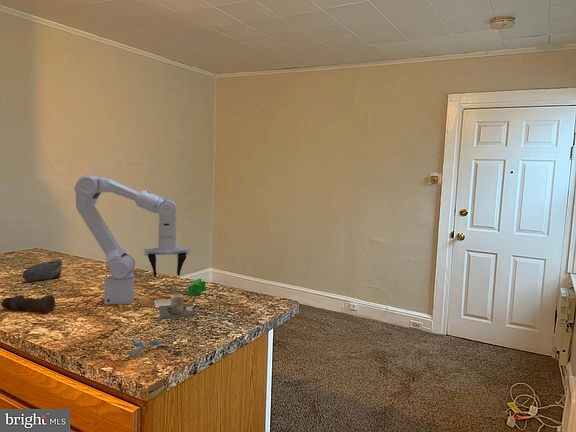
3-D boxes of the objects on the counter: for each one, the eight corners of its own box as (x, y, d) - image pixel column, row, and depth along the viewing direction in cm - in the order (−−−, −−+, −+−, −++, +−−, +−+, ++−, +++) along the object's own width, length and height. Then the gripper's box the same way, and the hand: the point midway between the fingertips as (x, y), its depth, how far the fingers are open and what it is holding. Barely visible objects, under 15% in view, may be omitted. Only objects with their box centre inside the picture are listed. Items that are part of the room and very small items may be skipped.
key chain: (136, 359, 101) (136, 356, 101) (109, 353, 104) (109, 349, 104) (171, 339, 114) (171, 336, 114) (147, 333, 117) (147, 330, 117)
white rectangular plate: (155, 309, 136) (155, 307, 136) (153, 302, 144) (153, 300, 144) (174, 308, 138) (174, 306, 138) (172, 301, 146) (172, 298, 146)
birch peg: (171, 316, 131) (171, 297, 130) (170, 313, 134) (170, 294, 133) (183, 315, 132) (183, 297, 131) (181, 312, 135) (182, 294, 135)
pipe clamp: (198, 299, 150) (198, 286, 149) (187, 298, 150) (188, 286, 150) (207, 290, 161) (208, 278, 160) (198, 289, 161) (198, 278, 161)
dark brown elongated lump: (6, 313, 132) (52, 315, 131) (-5, 310, 128) (42, 312, 126) (12, 295, 135) (57, 297, 133) (1, 291, 130) (47, 293, 129)
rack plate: (161, 321, 126) (161, 316, 126) (158, 310, 136) (159, 305, 135) (195, 318, 130) (195, 313, 130) (190, 308, 139) (190, 303, 139)
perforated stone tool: (25, 284, 158) (25, 266, 157) (19, 281, 161) (19, 264, 161) (66, 277, 170) (66, 261, 169) (60, 275, 173) (60, 258, 172)
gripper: (145, 238, 135) (144, 279, 137) (190, 237, 141) (190, 277, 142) (144, 234, 142) (143, 274, 143) (188, 234, 147) (187, 272, 149)
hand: (166, 275), depth 143 cm, fingers open, 7 cm apart
